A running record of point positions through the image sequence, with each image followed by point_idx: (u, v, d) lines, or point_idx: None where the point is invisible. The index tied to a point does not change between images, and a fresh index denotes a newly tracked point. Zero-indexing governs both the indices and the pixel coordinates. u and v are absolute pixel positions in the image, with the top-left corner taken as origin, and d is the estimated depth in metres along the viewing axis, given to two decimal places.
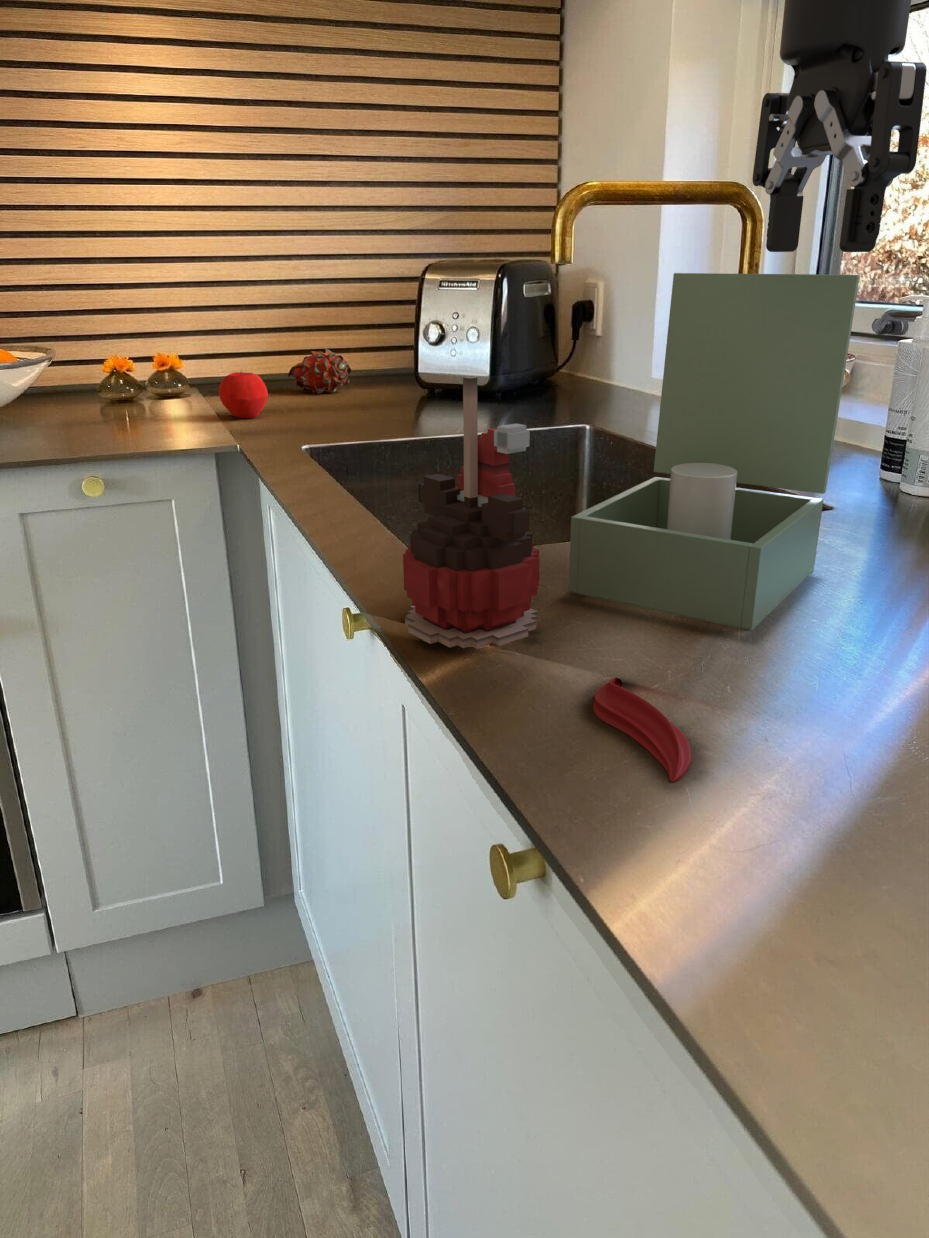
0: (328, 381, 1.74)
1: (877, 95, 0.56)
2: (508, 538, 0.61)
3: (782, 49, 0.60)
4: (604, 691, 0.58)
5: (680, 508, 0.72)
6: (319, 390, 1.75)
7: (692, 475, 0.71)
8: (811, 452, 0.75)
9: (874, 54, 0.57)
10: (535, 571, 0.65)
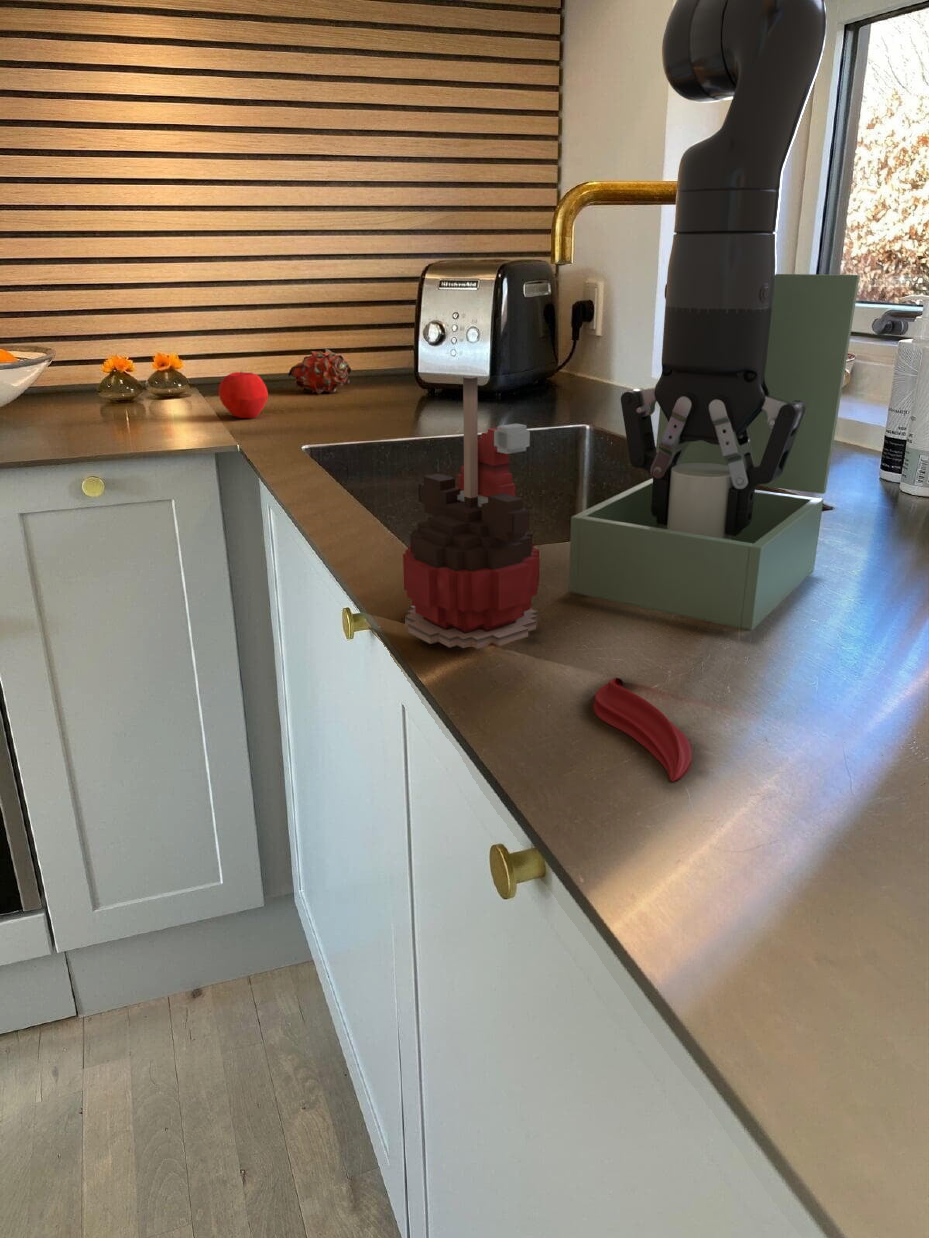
0: (328, 381, 1.74)
1: (776, 425, 0.67)
2: (508, 538, 0.61)
3: (681, 363, 0.67)
4: (604, 691, 0.58)
5: (680, 508, 0.72)
6: (319, 390, 1.75)
7: (692, 475, 0.71)
8: (811, 452, 0.75)
9: (761, 376, 0.68)
10: (535, 571, 0.65)
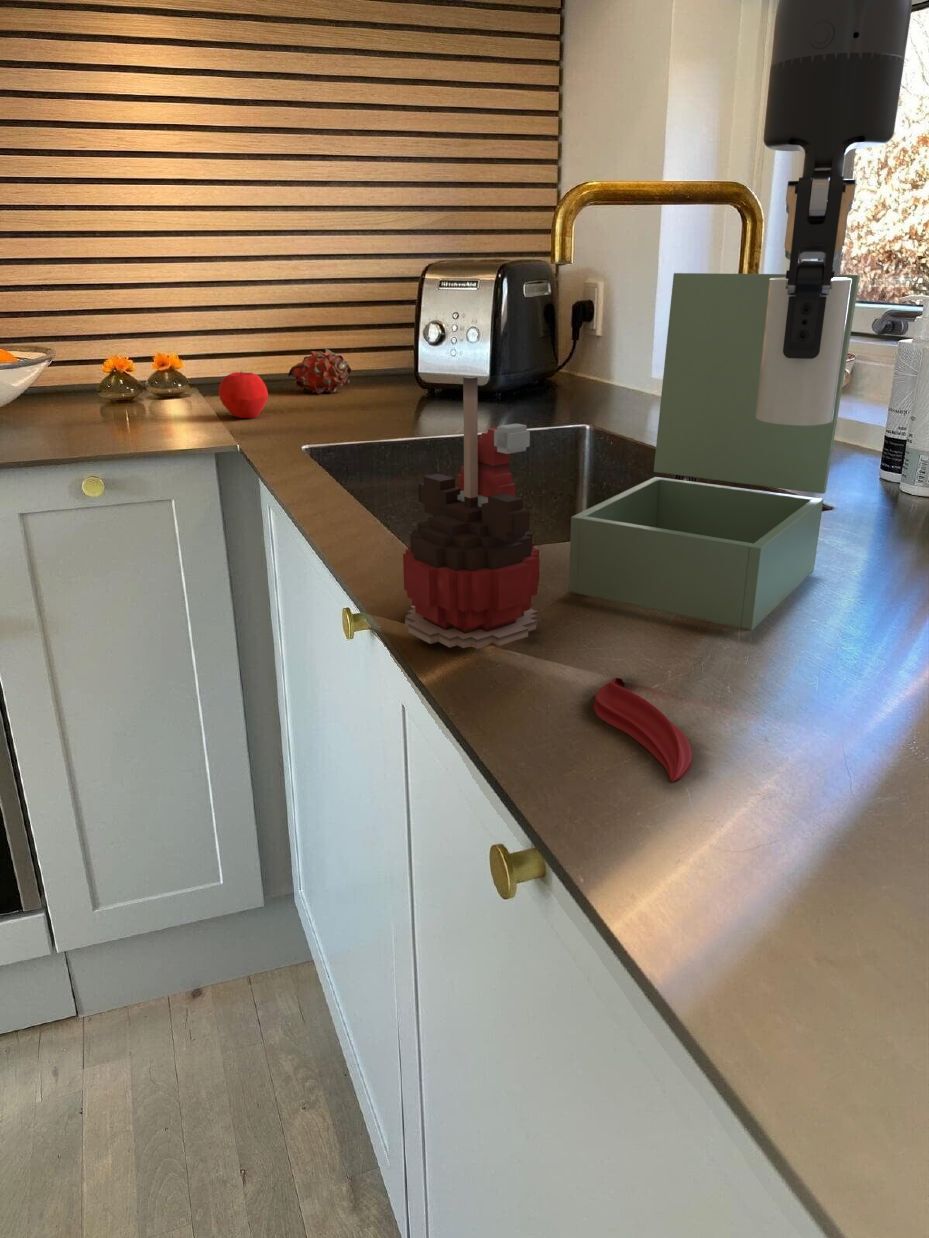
0: (328, 381, 1.74)
1: None
2: (508, 538, 0.61)
3: None
4: (605, 691, 0.58)
5: None
6: (319, 390, 1.75)
7: (771, 278, 0.61)
8: (811, 452, 0.75)
9: (821, 147, 0.55)
10: (535, 571, 0.65)
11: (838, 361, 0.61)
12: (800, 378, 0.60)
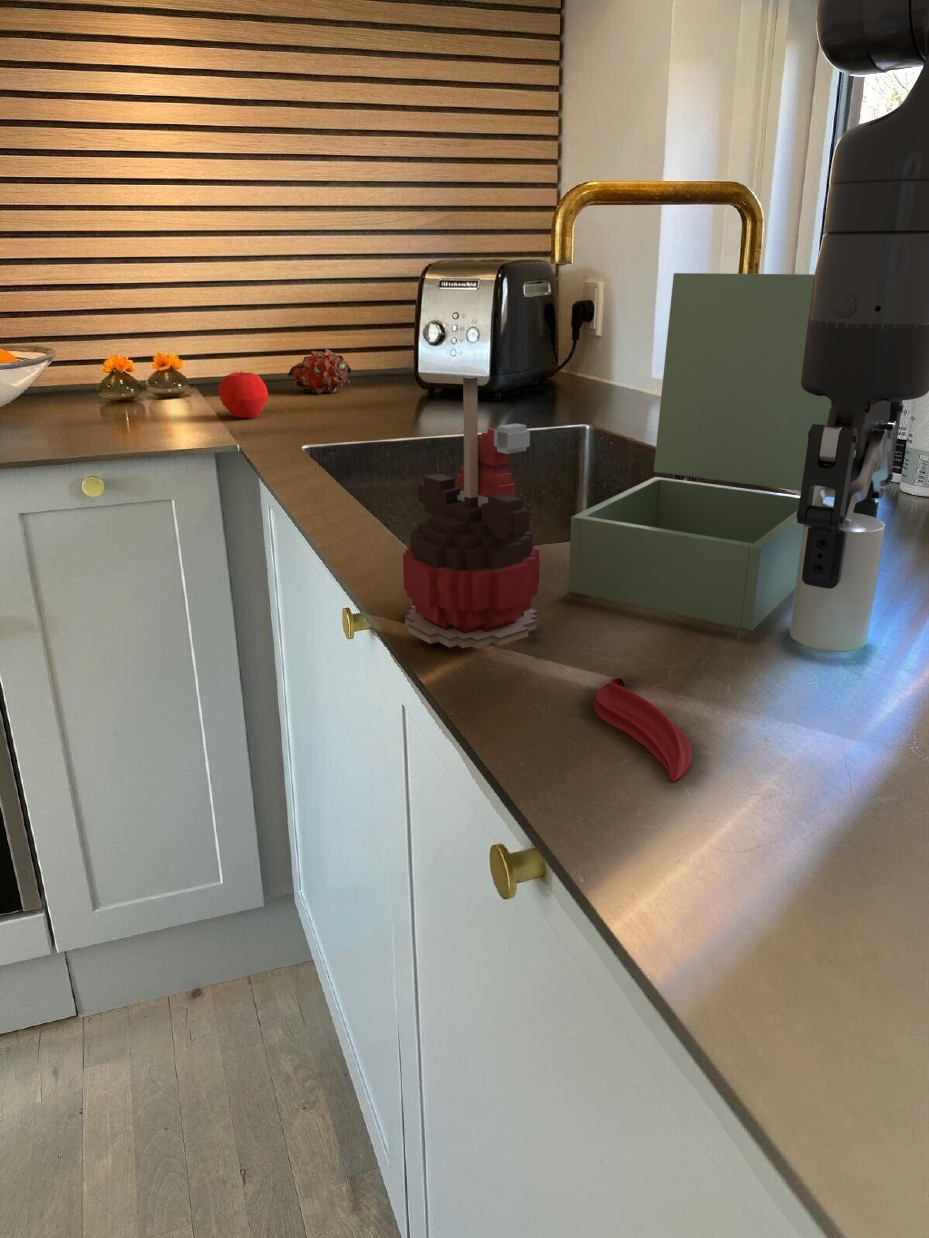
0: (328, 381, 1.74)
1: None
2: (508, 538, 0.61)
3: None
4: (605, 691, 0.58)
5: None
6: (319, 390, 1.75)
7: None
8: None
9: (843, 406, 0.56)
10: (535, 571, 0.65)
11: (867, 603, 0.62)
12: (824, 617, 0.62)
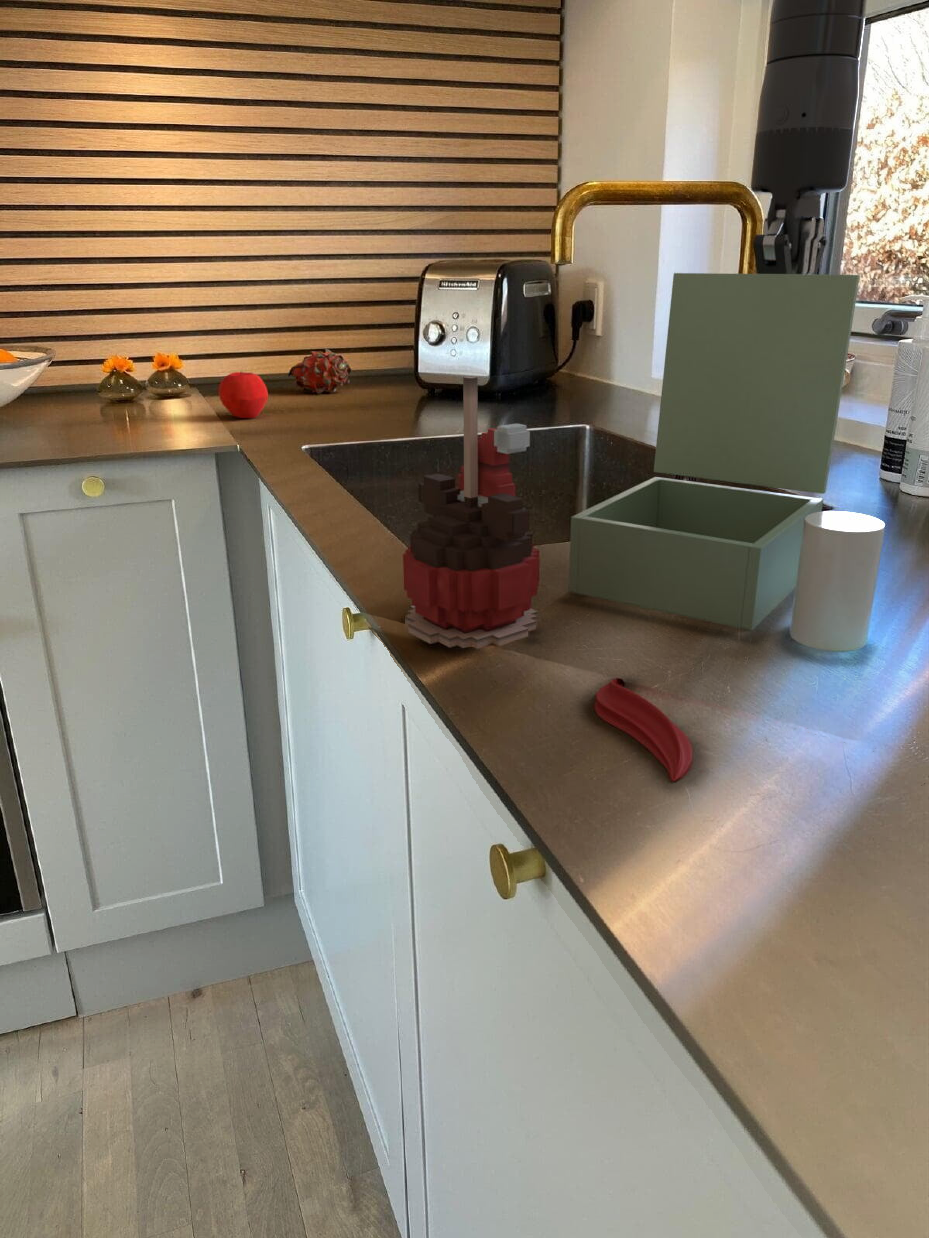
0: (328, 381, 1.74)
1: None
2: (508, 538, 0.61)
3: None
4: (606, 691, 0.58)
5: None
6: (319, 390, 1.75)
7: (808, 515, 0.63)
8: (811, 452, 0.75)
9: (780, 195, 0.75)
10: (535, 571, 0.65)
11: (867, 603, 0.62)
12: (824, 617, 0.62)
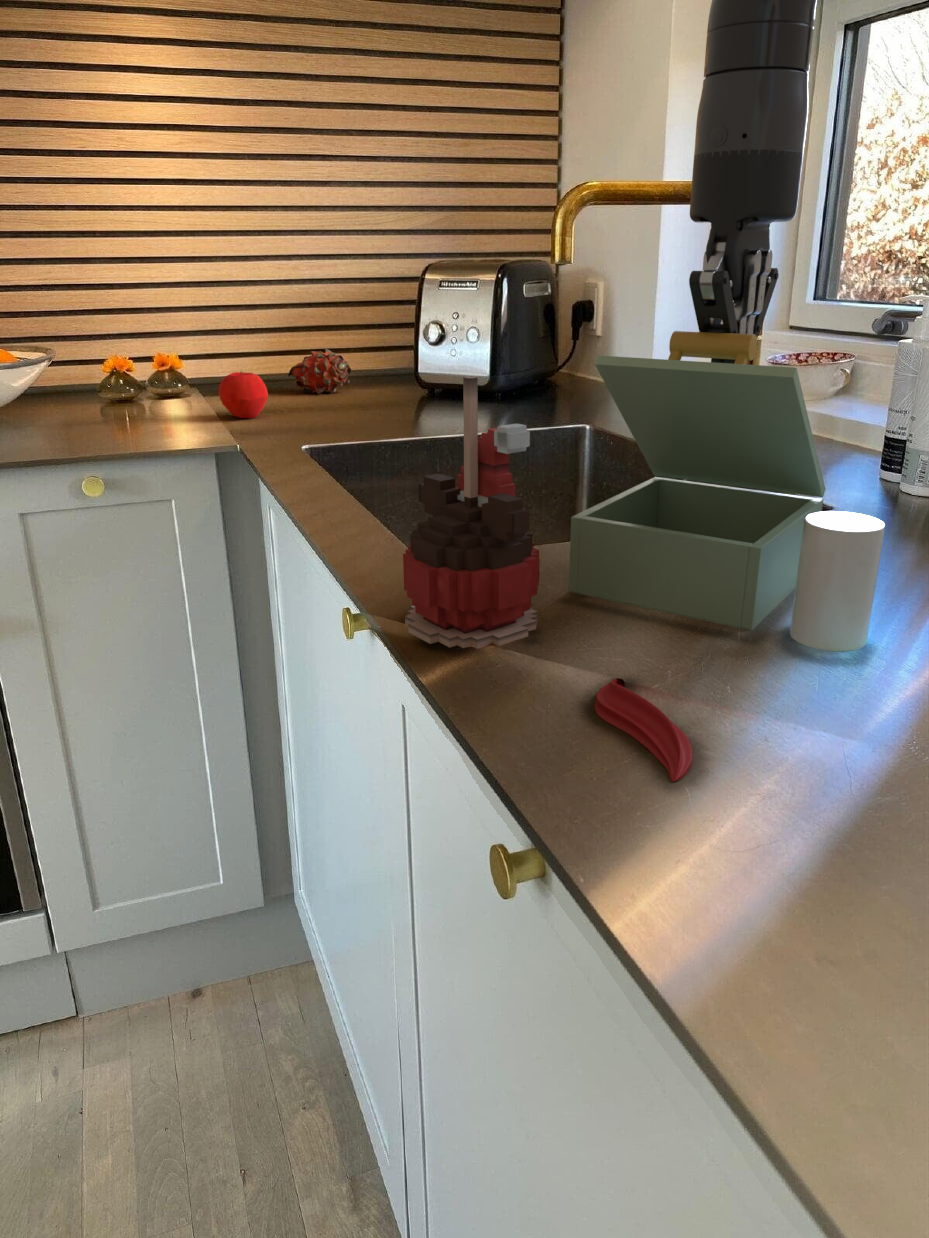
0: (328, 381, 1.74)
1: None
2: (508, 538, 0.61)
3: None
4: (606, 691, 0.58)
5: None
6: (319, 390, 1.75)
7: (808, 515, 0.63)
8: (799, 476, 0.73)
9: (720, 225, 0.66)
10: (535, 571, 0.65)
11: (867, 603, 0.62)
12: (824, 617, 0.62)
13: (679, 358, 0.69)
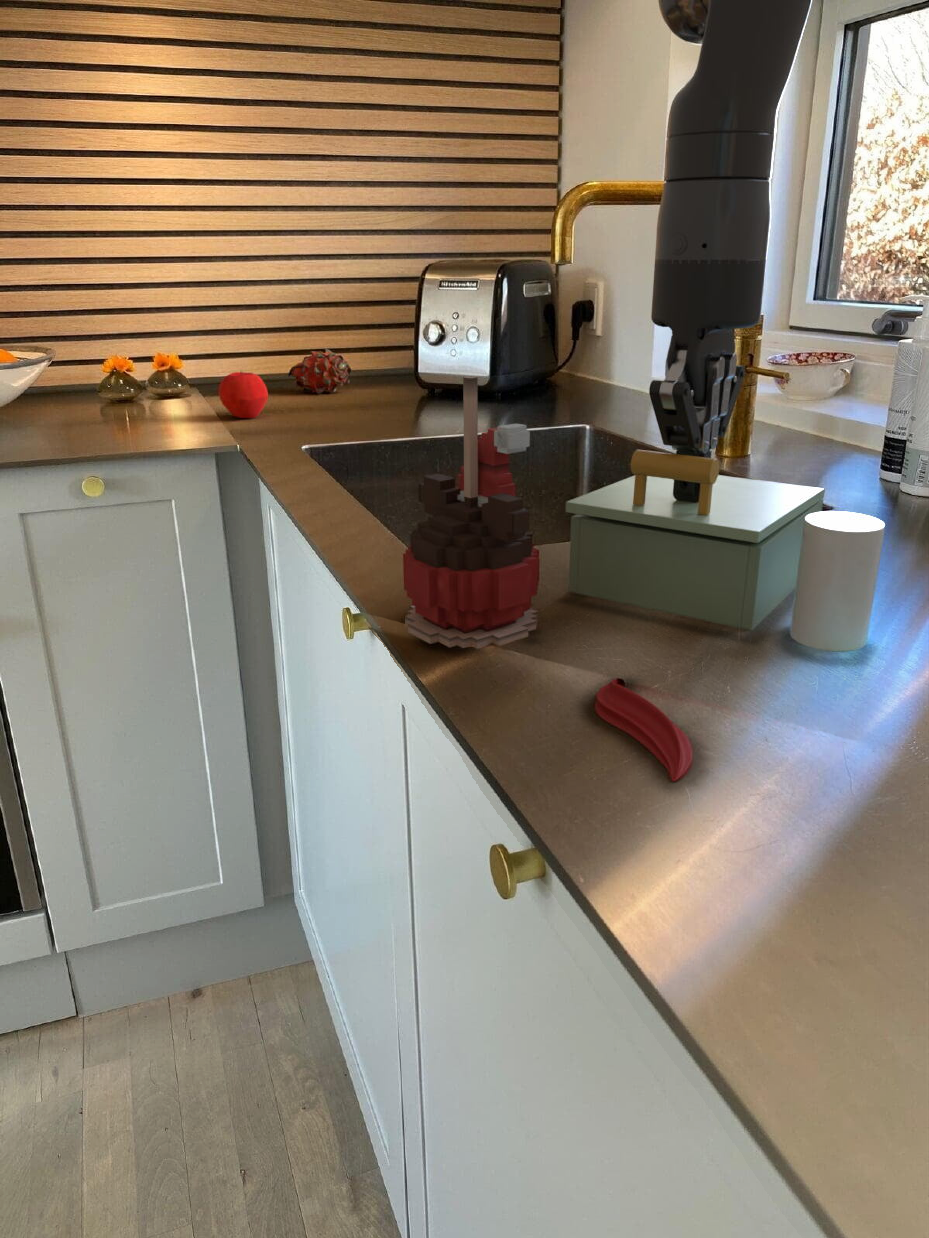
0: (328, 381, 1.74)
1: None
2: (508, 538, 0.61)
3: None
4: (606, 691, 0.58)
5: None
6: (319, 390, 1.75)
7: (808, 515, 0.63)
8: None
9: (680, 334, 0.64)
10: (535, 571, 0.65)
11: (867, 603, 0.62)
12: (824, 617, 0.62)
13: (645, 480, 0.69)
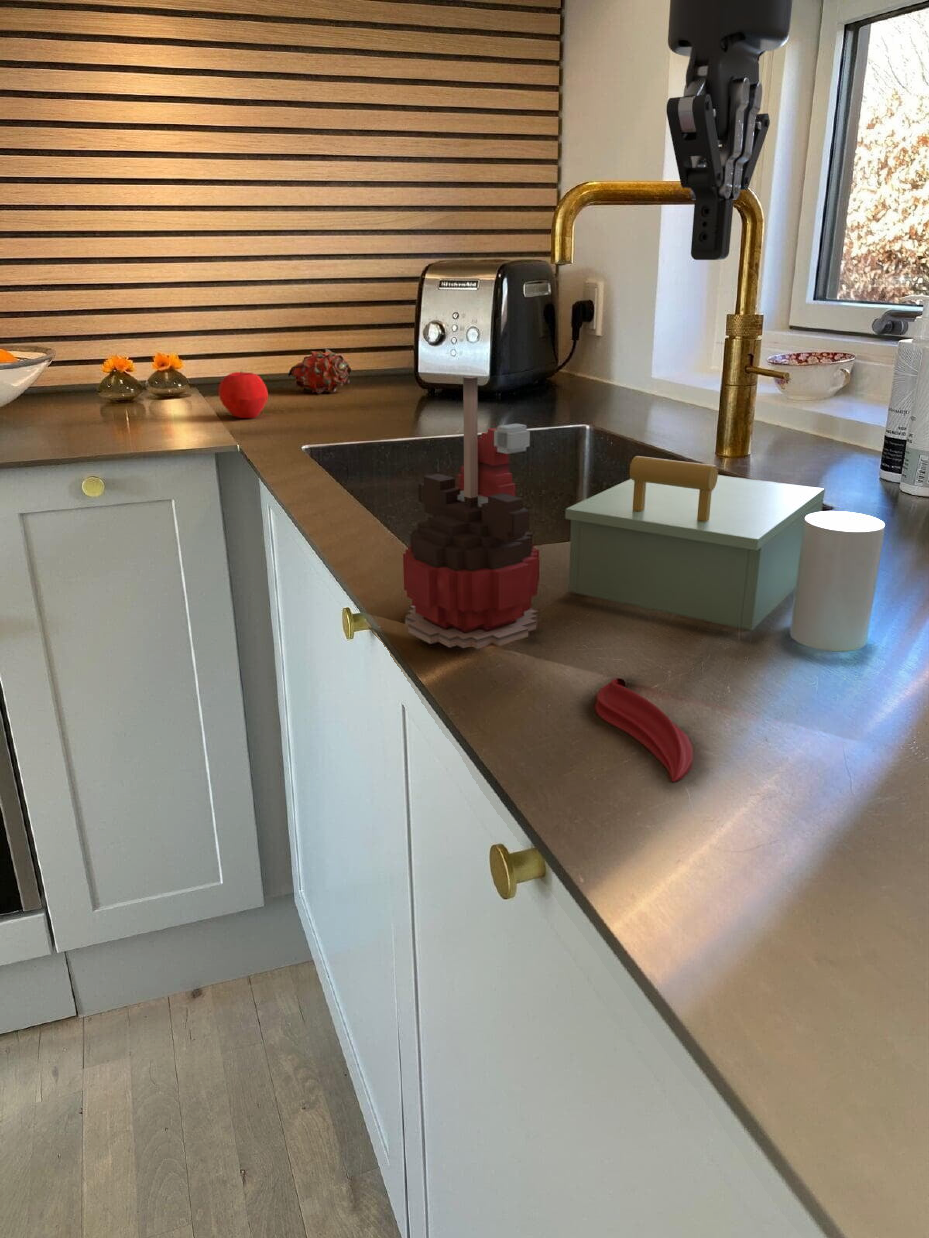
0: (328, 381, 1.74)
1: None
2: (508, 538, 0.61)
3: None
4: (606, 691, 0.58)
5: None
6: (319, 390, 1.75)
7: (808, 515, 0.63)
8: None
9: (701, 45, 0.57)
10: (535, 571, 0.65)
11: (867, 603, 0.62)
12: (824, 617, 0.62)
13: (644, 486, 0.69)
